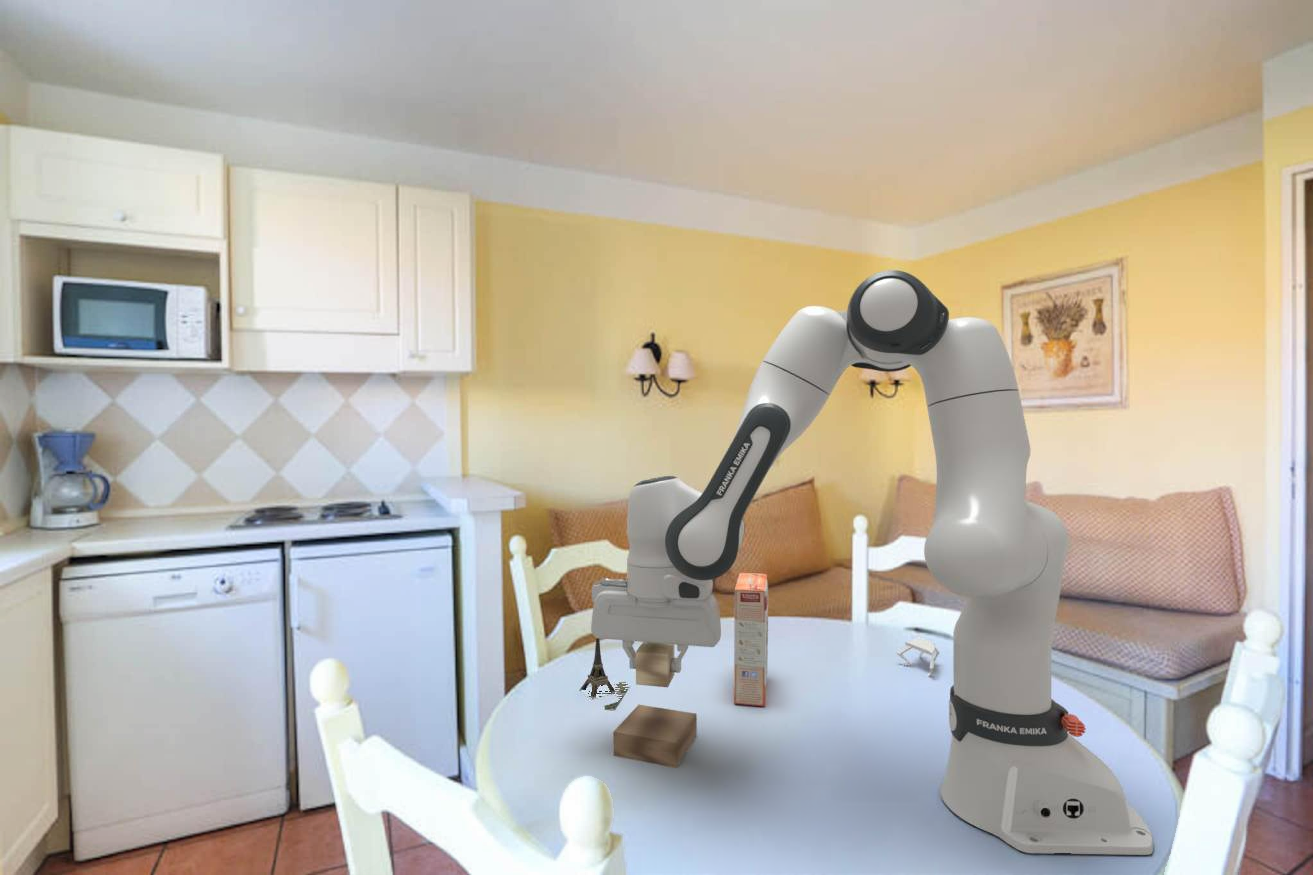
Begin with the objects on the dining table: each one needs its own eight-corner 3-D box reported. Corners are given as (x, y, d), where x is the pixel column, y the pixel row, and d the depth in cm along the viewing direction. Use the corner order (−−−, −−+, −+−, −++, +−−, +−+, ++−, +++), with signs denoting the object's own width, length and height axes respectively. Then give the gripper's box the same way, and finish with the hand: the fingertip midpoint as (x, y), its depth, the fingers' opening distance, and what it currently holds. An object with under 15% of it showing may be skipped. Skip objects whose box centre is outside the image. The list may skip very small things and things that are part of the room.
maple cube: (674, 674, 98) (674, 643, 98) (667, 687, 94) (667, 654, 94) (643, 672, 100) (643, 641, 100) (635, 684, 95) (635, 651, 95)
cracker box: (767, 708, 109) (766, 589, 109) (733, 705, 111) (732, 588, 111) (769, 677, 123) (768, 572, 123) (738, 675, 124) (738, 571, 124)
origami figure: (888, 659, 133) (888, 636, 133) (925, 657, 134) (925, 634, 134) (918, 681, 121) (918, 656, 121) (958, 679, 122) (958, 654, 122)
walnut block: (696, 738, 99) (696, 713, 99) (676, 770, 90) (676, 742, 90) (638, 728, 103) (638, 704, 103) (613, 758, 93) (613, 731, 93)
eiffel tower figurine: (615, 714, 109) (615, 637, 109) (560, 709, 111) (560, 634, 111) (635, 681, 123) (635, 613, 123) (586, 677, 125) (586, 611, 125)
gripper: (585, 581, 96) (585, 671, 96) (717, 589, 91) (717, 683, 91) (598, 572, 102) (598, 656, 102) (722, 579, 97) (722, 667, 97)
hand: (655, 669), depth 97 cm, fingers closed on maple cube, 5 cm apart
